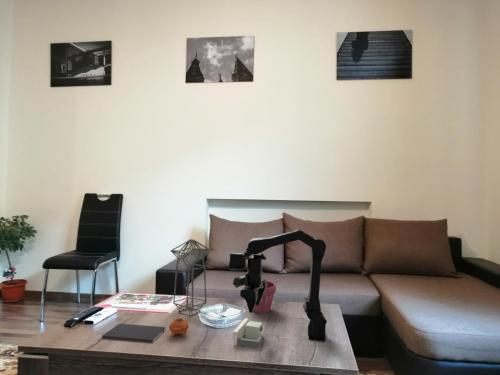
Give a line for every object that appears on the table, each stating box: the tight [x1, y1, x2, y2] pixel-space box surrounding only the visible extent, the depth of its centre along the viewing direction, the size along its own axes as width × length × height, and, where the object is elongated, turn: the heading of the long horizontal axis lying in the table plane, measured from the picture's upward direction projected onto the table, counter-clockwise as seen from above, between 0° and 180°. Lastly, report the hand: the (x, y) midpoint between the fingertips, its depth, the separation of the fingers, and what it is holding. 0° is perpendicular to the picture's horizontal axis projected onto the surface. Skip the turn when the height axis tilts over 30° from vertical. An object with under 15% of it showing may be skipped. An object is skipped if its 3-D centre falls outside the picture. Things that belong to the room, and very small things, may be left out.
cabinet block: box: [245, 320, 264, 340], centre depth 137 cm, size 6×5×5 cm
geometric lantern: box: [170, 238, 213, 317], centre depth 166 cm, size 16×16×35 cm
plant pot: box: [248, 280, 277, 314], centre depth 169 cm, size 14×14×13 cm
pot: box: [168, 317, 190, 337], centre depth 139 cm, size 8×8×7 cm
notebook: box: [101, 323, 166, 343], centre depth 139 cm, size 13×2×21 cm
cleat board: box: [232, 317, 264, 350], centre depth 135 cm, size 10×14×5 cm
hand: (254, 308), depth 138 cm, fingers open, 9 cm apart
